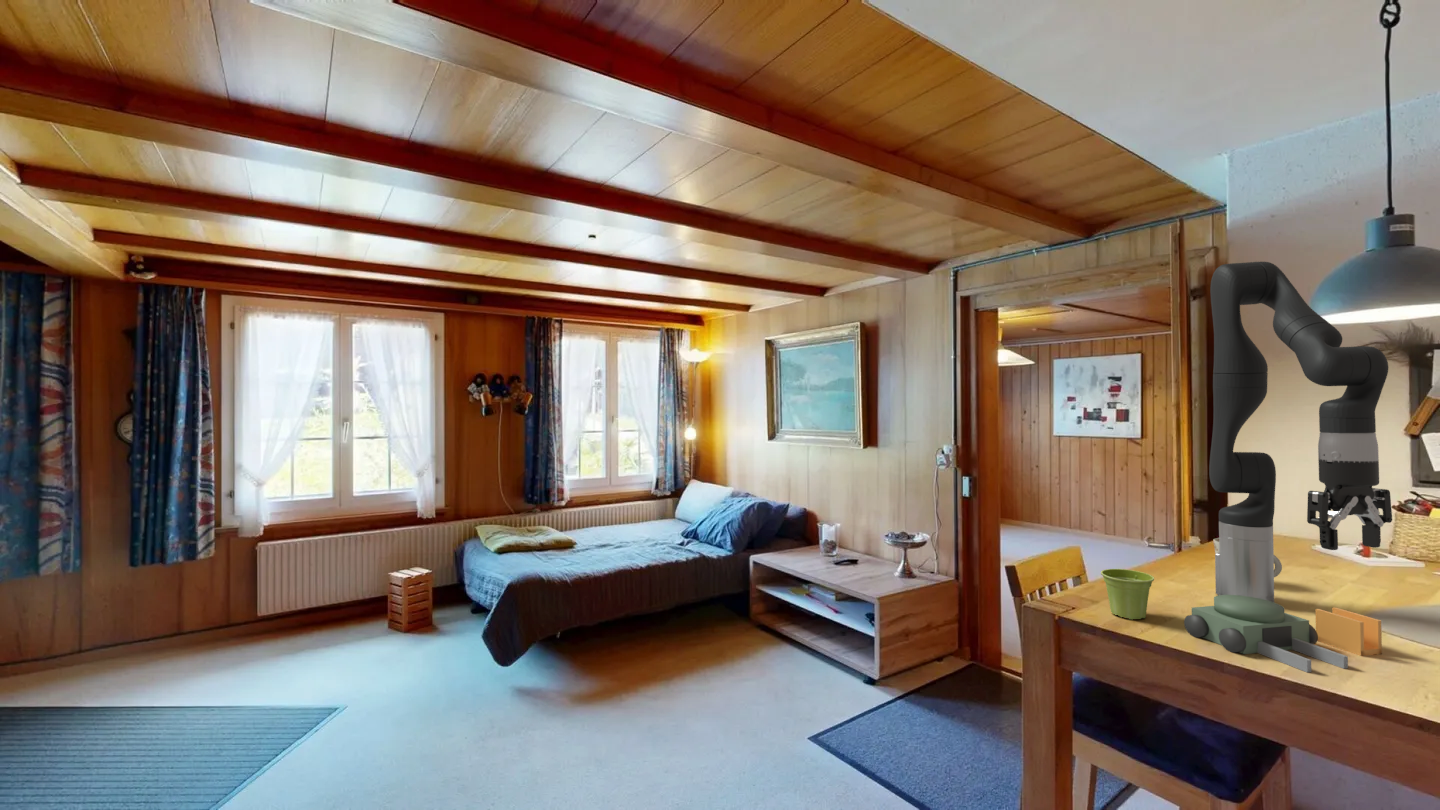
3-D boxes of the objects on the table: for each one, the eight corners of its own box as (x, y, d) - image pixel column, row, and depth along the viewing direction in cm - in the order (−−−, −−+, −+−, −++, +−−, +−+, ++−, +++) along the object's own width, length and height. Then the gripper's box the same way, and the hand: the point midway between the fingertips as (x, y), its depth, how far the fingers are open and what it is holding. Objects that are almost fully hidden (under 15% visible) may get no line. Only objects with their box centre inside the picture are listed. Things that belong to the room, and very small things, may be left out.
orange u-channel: (1315, 641, 113) (1315, 609, 113) (1336, 639, 114) (1335, 607, 114) (1360, 656, 106) (1360, 622, 106) (1381, 654, 107) (1381, 620, 107)
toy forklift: (1184, 632, 118) (1183, 596, 118) (1255, 626, 120) (1255, 591, 120) (1286, 674, 100) (1285, 632, 100) (1368, 666, 102) (1367, 624, 102)
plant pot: (1107, 620, 125) (1107, 578, 125) (1096, 606, 134) (1096, 566, 134) (1161, 625, 122) (1160, 582, 122) (1146, 610, 131) (1145, 570, 131)
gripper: (1358, 455, 113) (1360, 541, 113) (1290, 457, 111) (1293, 545, 111) (1408, 458, 105) (1410, 551, 105) (1336, 460, 104) (1338, 555, 104)
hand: (1350, 548), depth 108 cm, fingers open, 8 cm apart
